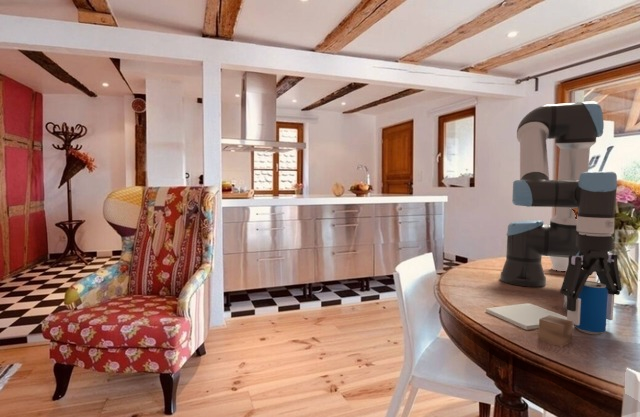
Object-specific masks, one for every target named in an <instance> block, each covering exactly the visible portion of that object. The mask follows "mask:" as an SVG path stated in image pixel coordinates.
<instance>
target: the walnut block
mask: <svg viewBox="0 0 640 417" xmlns="http://www.w3.org/2000/svg"><path fill="white" fill-rule="evenodd" d="M573 325H574V324H573V322H572V321H569V320H565V319H562V318H558V317H554V316H551V315H549V316H546V317H544V318H541V319H539V328H538V336H537V337H538V339H537V340H539V341H542V342H545V343H548V344H550V343H551V345H553V344H554V346H556V345H557V346H556V347H559V348H562V346H563V347H564V346H567V345H569V344H570V343H572V340H573V339H572V338H573Z"/></svg>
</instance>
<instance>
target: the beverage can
mask: <svg viewBox="0 0 640 417" xmlns="http://www.w3.org/2000/svg"><path fill="white" fill-rule="evenodd" d="M578 298H579V299H581V307H580V325H575V324H573V326H574V327H575V328H577V330H578V331H580V332H582V333H584V334H588V335H601V334H602V333H605V332H606V329H607V319H606V316H607V299H608V290H607V289H606V285H605V284H602V283H600V282H598V281H592V280H587V281H586V283H585V285H584V287H583V289H582V291H581V293H580V295H579V297H578Z"/></svg>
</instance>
